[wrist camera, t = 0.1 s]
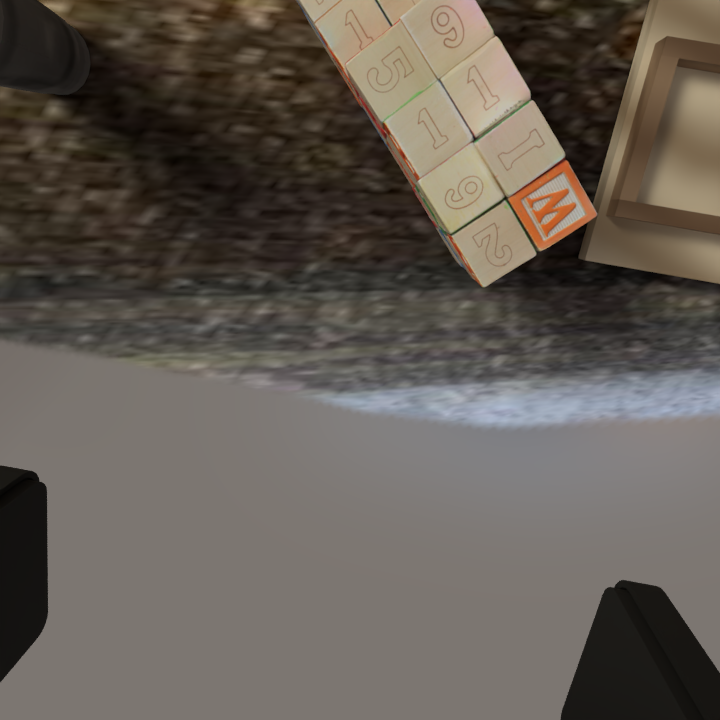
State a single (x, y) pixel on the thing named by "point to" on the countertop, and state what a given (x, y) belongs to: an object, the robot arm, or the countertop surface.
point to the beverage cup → (40, 50)
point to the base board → (665, 151)
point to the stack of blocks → (457, 125)
